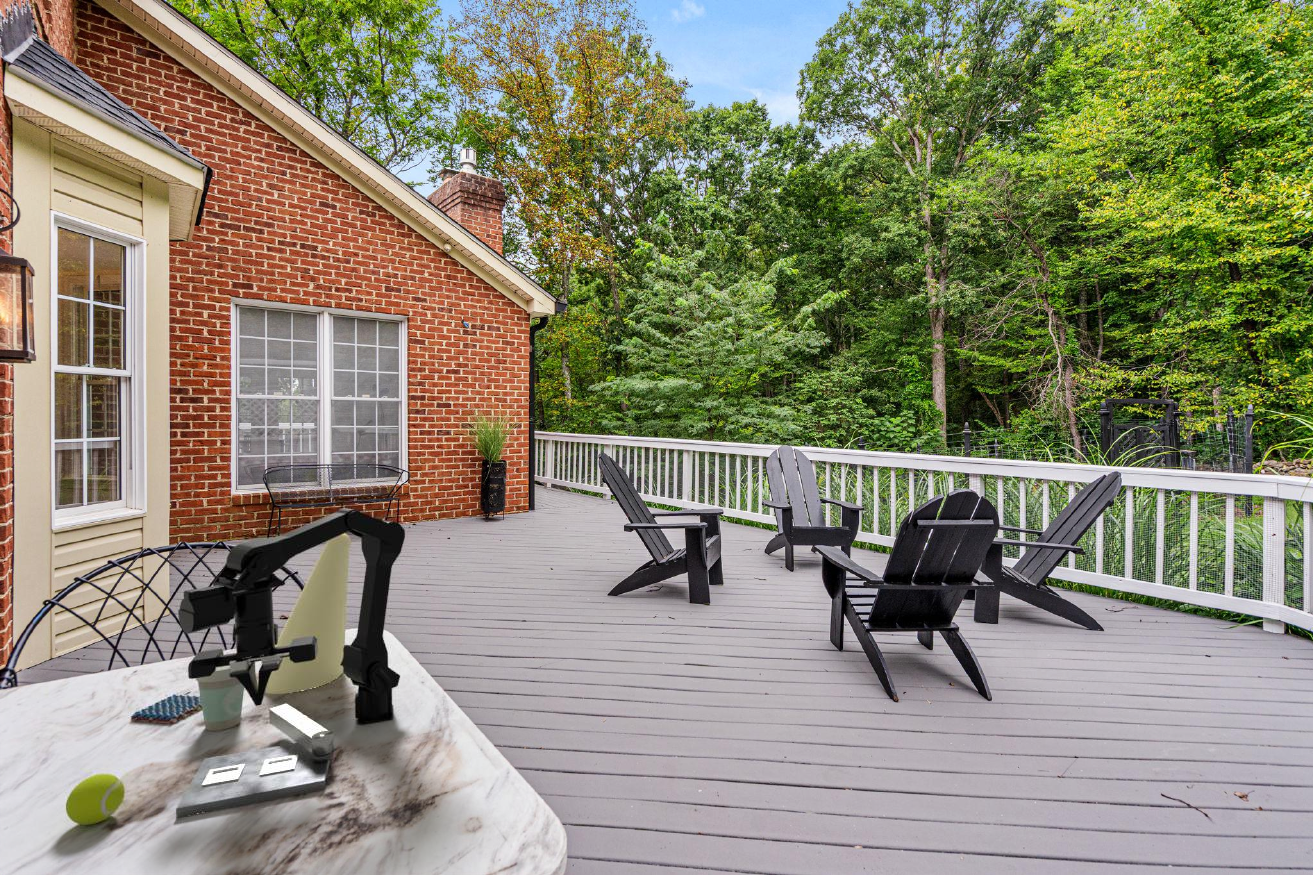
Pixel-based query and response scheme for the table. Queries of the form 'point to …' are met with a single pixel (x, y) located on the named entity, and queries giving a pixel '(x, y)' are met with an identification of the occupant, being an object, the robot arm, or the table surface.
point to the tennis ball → (95, 799)
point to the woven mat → (169, 709)
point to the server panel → (254, 778)
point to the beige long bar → (301, 729)
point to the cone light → (317, 623)
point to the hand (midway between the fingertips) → (258, 704)
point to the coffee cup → (221, 699)
